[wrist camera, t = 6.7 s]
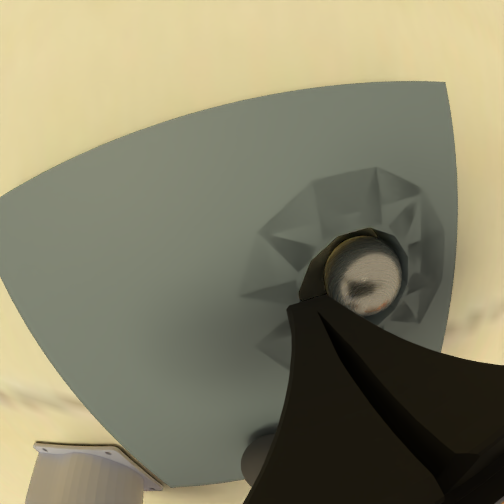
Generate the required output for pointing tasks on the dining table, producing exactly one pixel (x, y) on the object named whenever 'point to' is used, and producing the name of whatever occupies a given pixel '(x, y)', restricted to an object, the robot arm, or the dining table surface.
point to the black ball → (255, 457)
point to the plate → (225, 257)
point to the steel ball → (363, 275)
